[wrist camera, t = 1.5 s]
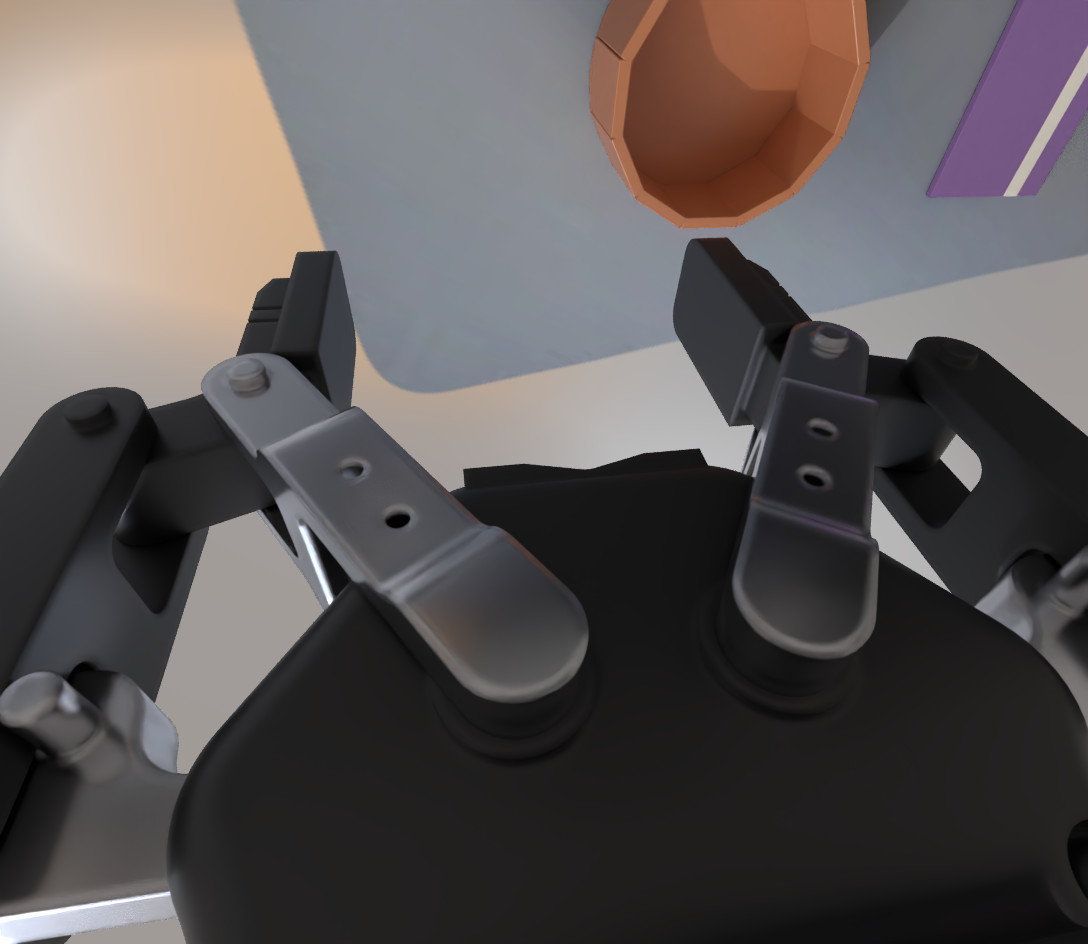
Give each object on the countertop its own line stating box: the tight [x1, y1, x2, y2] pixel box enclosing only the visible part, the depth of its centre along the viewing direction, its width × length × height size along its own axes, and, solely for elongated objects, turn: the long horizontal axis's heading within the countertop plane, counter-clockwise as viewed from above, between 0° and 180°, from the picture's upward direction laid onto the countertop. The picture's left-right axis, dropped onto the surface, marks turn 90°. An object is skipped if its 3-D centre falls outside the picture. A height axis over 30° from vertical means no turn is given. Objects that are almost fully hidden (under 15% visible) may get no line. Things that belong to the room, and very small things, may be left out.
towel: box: [926, 0, 1088, 198], centre depth 29 cm, size 11×6×1 cm, turn 178°
